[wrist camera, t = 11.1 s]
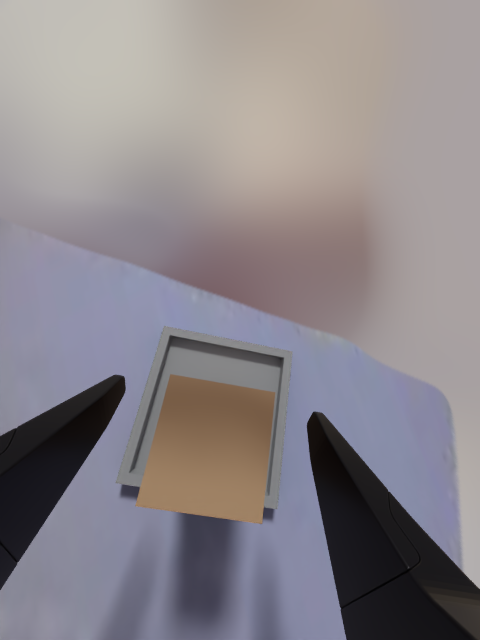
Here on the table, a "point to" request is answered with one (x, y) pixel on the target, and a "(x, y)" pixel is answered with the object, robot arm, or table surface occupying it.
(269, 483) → the box
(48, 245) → the table surface
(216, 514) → the tan slab
